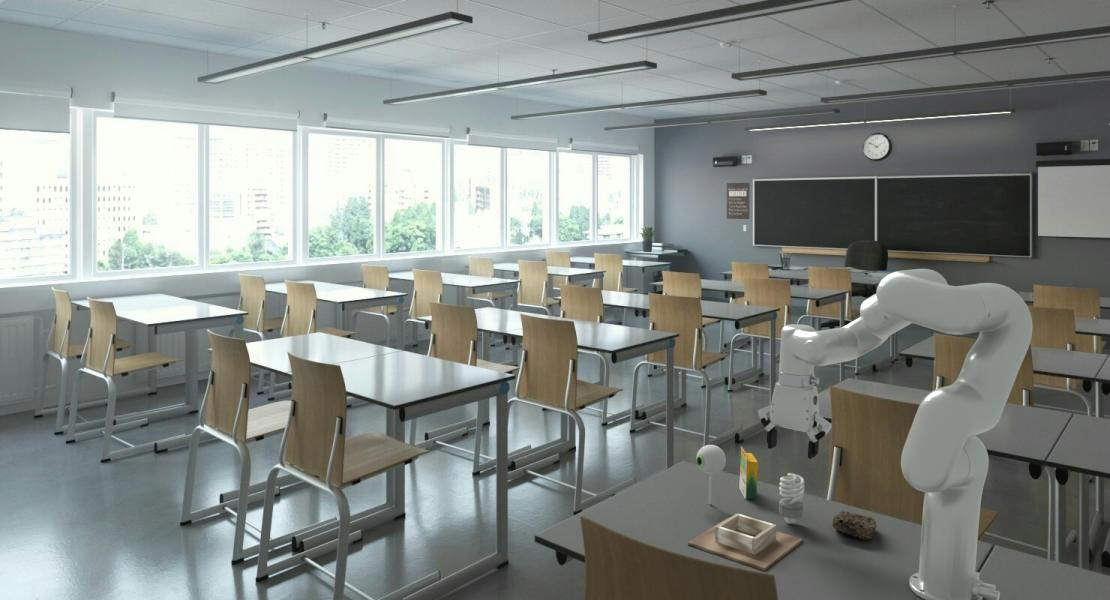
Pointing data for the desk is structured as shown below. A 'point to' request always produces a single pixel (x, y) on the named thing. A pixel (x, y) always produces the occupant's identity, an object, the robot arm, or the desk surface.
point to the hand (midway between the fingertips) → (791, 452)
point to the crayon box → (748, 475)
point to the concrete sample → (855, 524)
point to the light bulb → (791, 497)
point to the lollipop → (711, 462)
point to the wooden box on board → (746, 541)
